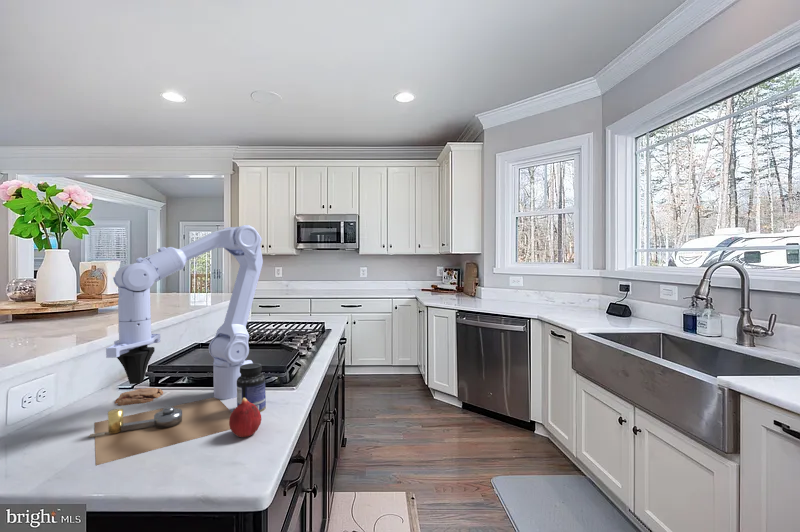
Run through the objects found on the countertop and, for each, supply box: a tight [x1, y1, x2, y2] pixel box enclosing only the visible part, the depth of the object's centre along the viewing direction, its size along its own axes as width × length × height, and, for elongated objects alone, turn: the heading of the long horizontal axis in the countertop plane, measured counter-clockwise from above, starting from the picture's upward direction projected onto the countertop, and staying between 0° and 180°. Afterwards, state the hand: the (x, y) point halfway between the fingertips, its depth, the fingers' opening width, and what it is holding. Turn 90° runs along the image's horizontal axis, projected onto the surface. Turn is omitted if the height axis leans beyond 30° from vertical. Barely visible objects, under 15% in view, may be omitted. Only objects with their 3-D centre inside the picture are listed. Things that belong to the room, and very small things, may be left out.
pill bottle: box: [236, 362, 267, 413], centre depth 88 cm, size 6×6×11 cm
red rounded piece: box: [229, 398, 262, 438], centre depth 75 cm, size 6×6×8 cm
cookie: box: [114, 387, 164, 407], centre depth 96 cm, size 10×11×3 cm
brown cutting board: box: [88, 396, 233, 466], centre depth 80 cm, size 25×22×1 cm
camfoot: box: [107, 406, 182, 434], centre depth 79 cm, size 13×5×4 cm, turn 114°
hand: (136, 382), depth 83 cm, fingers closed
